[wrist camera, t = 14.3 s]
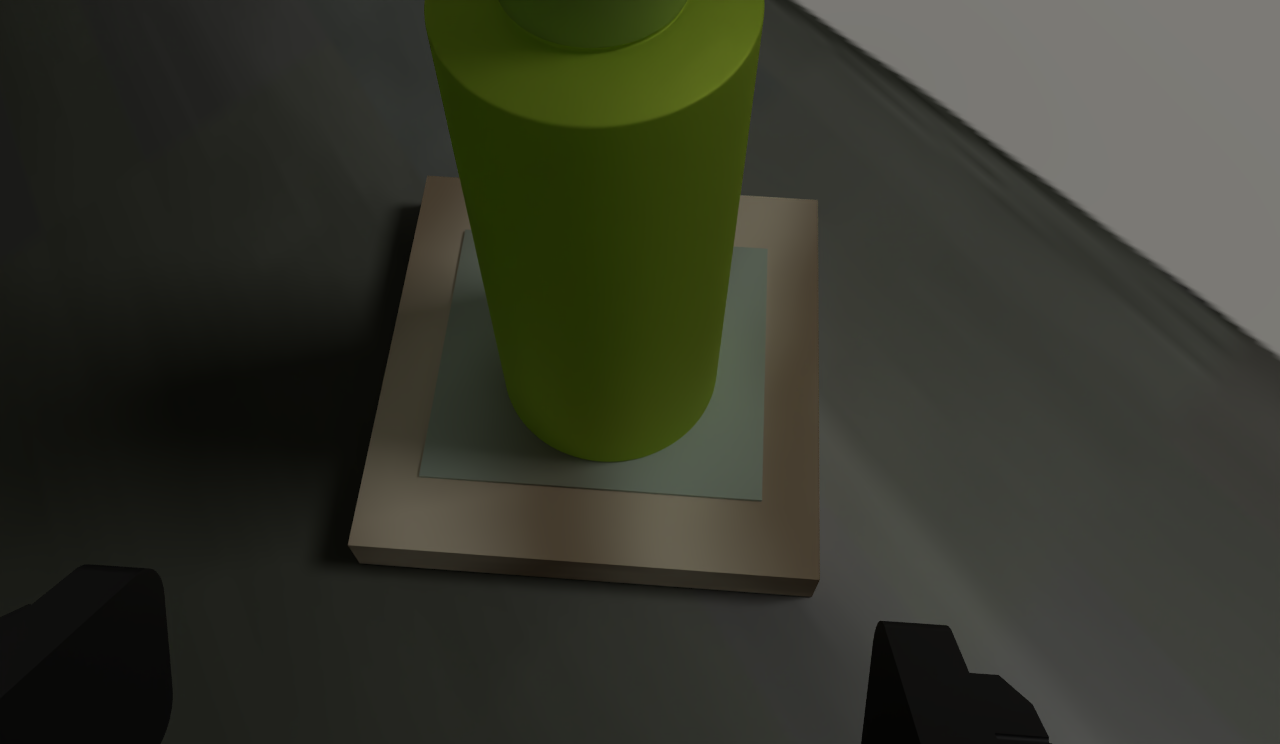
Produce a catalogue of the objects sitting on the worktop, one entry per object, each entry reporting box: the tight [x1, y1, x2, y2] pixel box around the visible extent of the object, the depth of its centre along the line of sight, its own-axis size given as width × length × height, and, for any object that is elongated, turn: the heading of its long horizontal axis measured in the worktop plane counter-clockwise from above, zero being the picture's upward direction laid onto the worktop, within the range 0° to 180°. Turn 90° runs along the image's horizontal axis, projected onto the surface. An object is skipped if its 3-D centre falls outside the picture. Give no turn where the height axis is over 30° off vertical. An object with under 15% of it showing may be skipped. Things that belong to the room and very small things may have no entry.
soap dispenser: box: [424, 0, 764, 462], centre depth 22 cm, size 6×7×20 cm
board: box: [348, 176, 820, 597], centre depth 31 cm, size 12×12×2 cm
